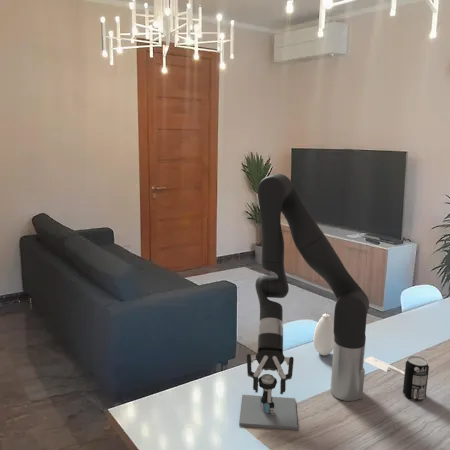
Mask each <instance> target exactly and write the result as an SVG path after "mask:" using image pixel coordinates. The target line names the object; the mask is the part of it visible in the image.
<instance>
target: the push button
mask: <svg viewBox="0 0 450 450" xmlns="http://www.w3.org/2000/svg"><path fill="white" fill-rule="evenodd" d="M277 383H278V380H277V378H276V377H274V375H273V374H270V373H265V374H262V375H261V376H259V377H258V387H260V388H262V395H261V396H262V397H261V400H260V405H261V408H262V410H263V408H264V410H265V411H266V412H267V413H271V414H272V413H273V412H274V410H273V409H274V403H273V402H272V397H273V396H272V393H273V392H272V390H273V389H276V386H277ZM272 415H274V413H273V414H272Z"/></svg>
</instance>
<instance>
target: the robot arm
mask: <svg viewBox="0 0 450 450" xmlns="http://www.w3.org/2000/svg"><path fill="white" fill-rule="evenodd" d="M257 198H258V206H259V212H260V223H261V241H262V242H261V267H262V268H263V270H266V271H268V272H273V273H275V274H276V275H260V276H258V278H256V281H255V290H256V294H257V298H258V302H259V303H258V304H259V323H258V332H257V352H256V354H250V353H248V354H247V355H246V370H247V373H246V374H247V377H249V378H251V379H253V383H252V390H253V391H255V392H254V393H258V391H259V382H258V379H259V378H260V375H261V374H262V373H263V371H272V372H275V371H276V373H277V375H278V376H279V377H280V380H279V381H280V382H279V383H280V385H279V386H280V388H279V390H280V392H279V394H280V395H283V394H284V393H286V387H287V386H286V384H287V383H286V381H288V380H291V379H292V377H293V372H294V371H293V370H294V361H295V360H294V357H293V356H289V357H288V356H285V355H284V324H283V317H284V315H283V306H282V304H281V303H280V302H278V301H275V300H270V299H269V298H271V299H272V298H273V299H283V298H285V297H286V296H287V295H288V294H289V288H290V287H289V282H288V280H287V279H288V277H287V276H286V272H285V271H286V270H285V240H284V234H283V230H282V223H281V221H282V219H281V216H282V215H283V217H284V218H285V219H286V222H287V224H288V227H289V230H290V233H291V234H290V235H291V237H292V240H293V243H294V246H295V247H296V249H297V251H298V253H299V254H300V256H301V257H302V258H303V259H304V261H305V263H306V264H307V265H308V266H309V267H310V268H311V269H312V270H313V271H314V272H315V273H317V274H318V276H320V277H321V278H322V279H323V280H324V281H325V282H326V283H327V284H328V286H329V288H330V289H331V291H332V293H333V295H334V296H335V298H336V300H337V301H336V303H335V305H334V313H333V315H334V316H333V324H334V348H333V350H332V364H331V377H330V379H331V380H330V381H331V382H330V394H331V395H332V396H333V397H334V398H336V399H338V400H342V401H345V402H354V401H357V400H362V399H363V396H364V394H363V393H364V385H365V384H364V383H365V372H366V371H365V368H364V362H365V361H364V359H365V351H366V339H367V336H366V330H367V329H366V327H367V317H368V312H369V309H370V300H369V297H368V296H367V294H366V293H365V291H364V290H363V289H362V288H361V286H360V285H359V284H358V283H357V282H356V281H355V280H354V278H353V277H352V275H351V274H350V272H348V270H347V268H346V267H345V265H344V263H343V261H342V260H341V259H340V257H339V256H338V253H336V250H335V249H334V247H333V246H332V244H331V242H330V241H329V239H328V238H327V236H326V234H324V232H323V231H322V229H321V228H320V226H319V225H318V223H317V222H316V221H315V219H314V217H313V216H312V215H311V213H310V212H309V211H308V210H307V208H306V206H305V205H304V203H303V200H302V199H301V198H300V194H299V192H297V190H296V188H295V186H294V184H293V181H292V180H291V179H290V178H289V177H288V176H287V175H285V174H282V173H275V174H271V175H268V176H266V177H264V178H263V179H261V180H260V182H259V183H258V186H257ZM281 214H282V215H281ZM255 360H256V362H257V363H258V366H257V368H256V370H255V371H252V364H253V363H254V362H255ZM284 362H285V363H286V366H288V367H287V368H288V369H287V373H286V374H285V372H284V369H283V368H282V364H284Z"/></svg>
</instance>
